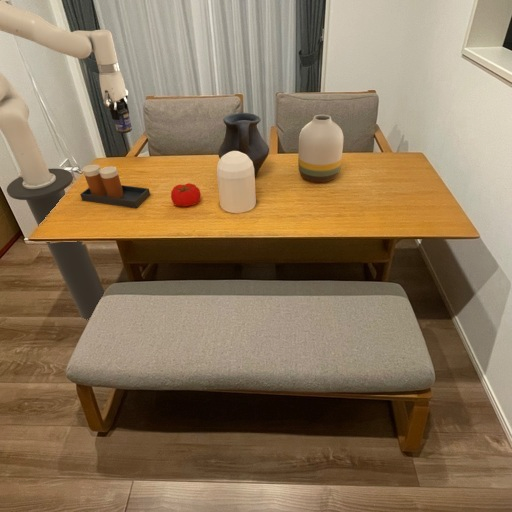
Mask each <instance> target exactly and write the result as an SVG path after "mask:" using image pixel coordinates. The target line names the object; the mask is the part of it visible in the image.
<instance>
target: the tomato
mask: <svg viewBox="0 0 512 512" xmlns="http://www.w3.org/2000/svg"><path fill="white" fill-rule="evenodd" d="M201 195H202V194H201V190H200V189H199V187H197V186H196V185H195V184H193V183H189V182H187V183H185V184H182V183H181V184H177V185H175V186H173V188H172V190H171V191H170V198H171V202H172V204H173V205H174V206H177V207H180V206H183V207H190V206H193V205H196V204H199V202H200V201H201Z"/></svg>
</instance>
